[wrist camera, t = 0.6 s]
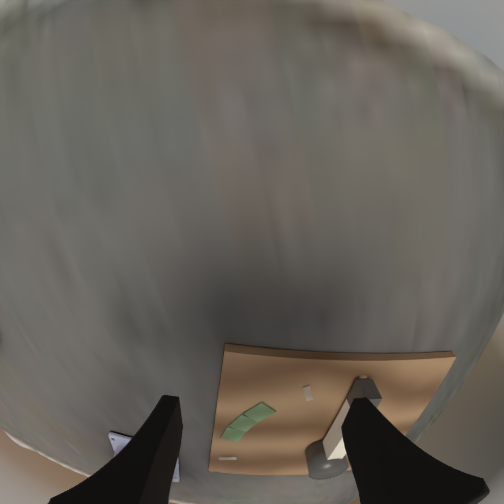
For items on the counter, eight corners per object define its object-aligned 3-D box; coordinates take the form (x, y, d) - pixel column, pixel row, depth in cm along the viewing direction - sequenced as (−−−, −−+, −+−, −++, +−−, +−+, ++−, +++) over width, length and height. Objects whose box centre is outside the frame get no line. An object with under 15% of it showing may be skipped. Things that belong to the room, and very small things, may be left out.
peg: (334, 456, 25) (339, 477, 22) (300, 459, 25) (304, 480, 22) (383, 377, 21) (396, 400, 18) (342, 378, 21) (352, 404, 18)
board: (377, 459, 28) (380, 466, 27) (208, 464, 27) (208, 472, 25) (451, 351, 22) (457, 357, 21) (225, 343, 21) (224, 353, 20)
